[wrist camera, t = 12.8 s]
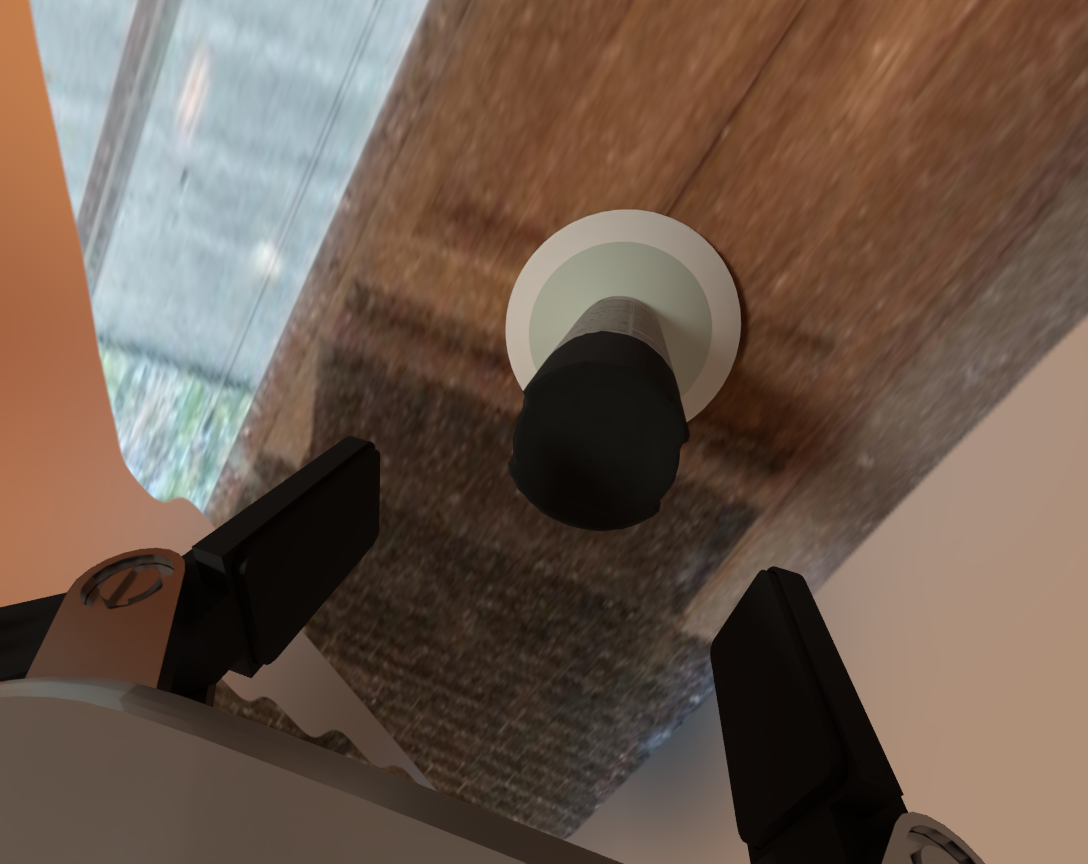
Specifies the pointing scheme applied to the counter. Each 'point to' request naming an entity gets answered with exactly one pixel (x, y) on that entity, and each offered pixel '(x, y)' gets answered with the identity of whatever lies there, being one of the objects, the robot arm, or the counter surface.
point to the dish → (630, 295)
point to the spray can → (602, 421)
